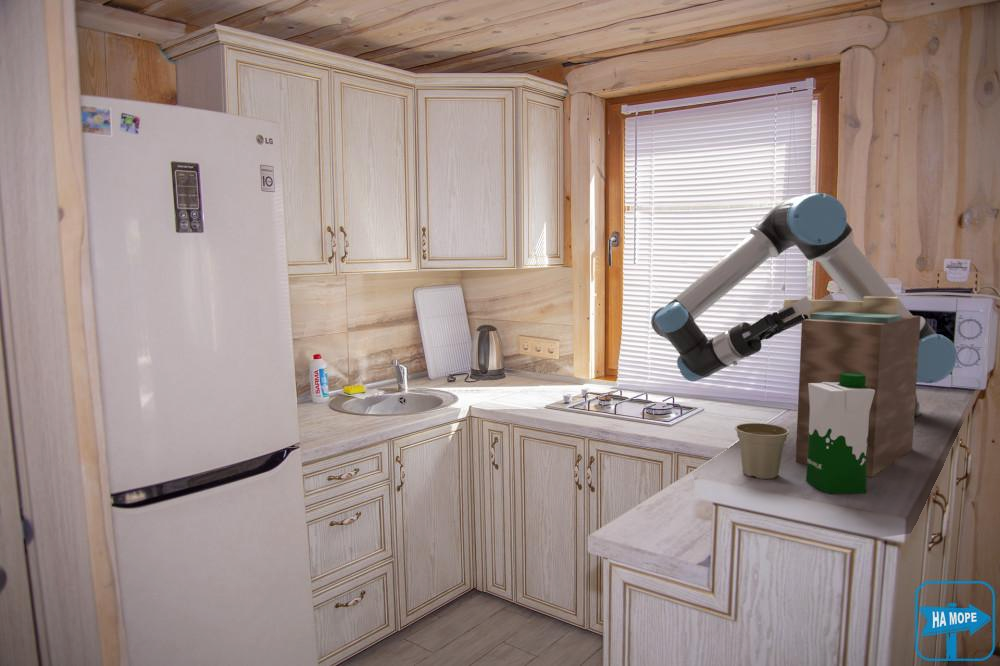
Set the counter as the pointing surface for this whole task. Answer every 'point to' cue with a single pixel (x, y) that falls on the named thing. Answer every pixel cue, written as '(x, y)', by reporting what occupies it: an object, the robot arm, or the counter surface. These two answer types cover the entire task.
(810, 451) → the milk carton
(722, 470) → the counter surface
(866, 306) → the oak bar
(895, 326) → the walnut shelf
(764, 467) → the flower pot
